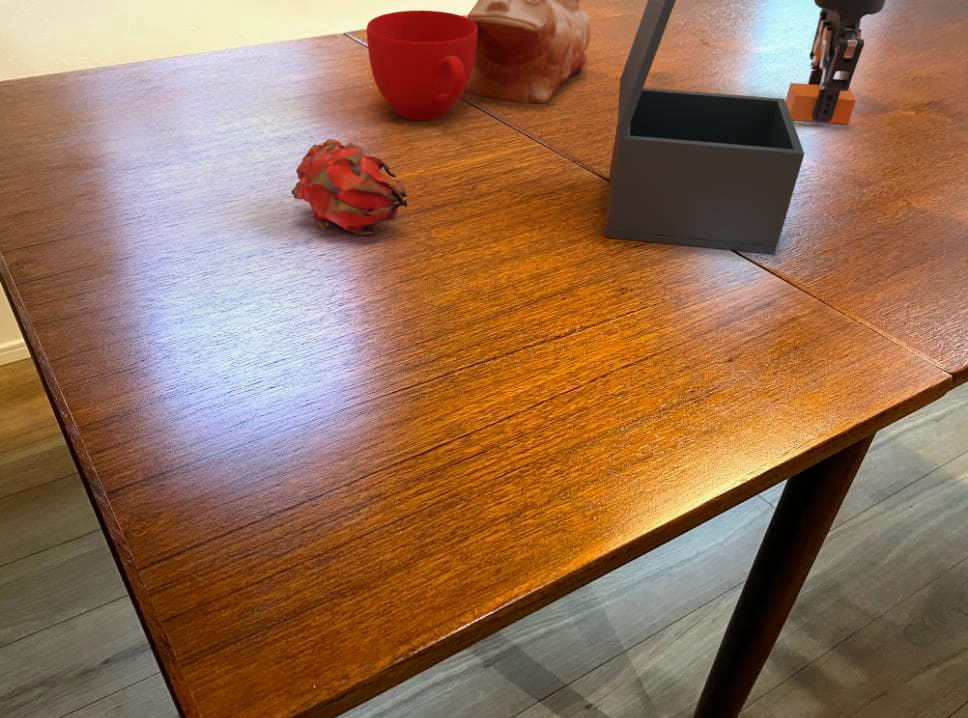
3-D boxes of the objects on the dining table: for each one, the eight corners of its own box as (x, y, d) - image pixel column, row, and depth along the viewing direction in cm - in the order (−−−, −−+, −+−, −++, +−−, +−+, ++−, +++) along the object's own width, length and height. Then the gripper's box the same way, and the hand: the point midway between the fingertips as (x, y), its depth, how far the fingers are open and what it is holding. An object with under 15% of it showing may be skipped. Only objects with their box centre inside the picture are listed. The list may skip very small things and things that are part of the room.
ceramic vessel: (435, 101, 111) (438, -28, 102) (509, 44, 130) (518, -69, 120) (539, 120, 107) (552, -13, 97) (600, 58, 125) (616, -58, 116)
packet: (841, 110, 111) (849, 87, 109) (848, 124, 107) (856, 100, 105) (783, 106, 112) (790, 82, 110) (788, 119, 108) (795, 95, 106)
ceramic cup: (405, 150, 99) (405, 59, 93) (353, 99, 111) (350, 16, 105) (507, 133, 103) (513, 45, 97) (446, 86, 115) (449, 5, 109)
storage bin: (759, 191, 92) (784, 98, 86) (774, 254, 82) (804, 153, 76) (608, 178, 94) (622, 85, 88) (605, 237, 84) (620, 137, 78)
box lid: (692, -100, 77) (631, -117, 77) (701, -69, 67) (630, -88, 67) (627, 82, 88) (573, 67, 88) (625, 134, 77) (564, 116, 77)
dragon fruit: (300, 217, 89) (400, 263, 86) (258, 199, 81) (366, 249, 78) (333, 138, 88) (436, 181, 85) (293, 112, 80) (405, 159, 77)
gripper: (910, -20, 93) (859, 135, 103) (881, -50, 104) (838, 93, 114) (836, -24, 94) (792, 130, 104) (815, -53, 105) (778, 88, 115)
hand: (816, 110), depth 109 cm, fingers open, 6 cm apart
